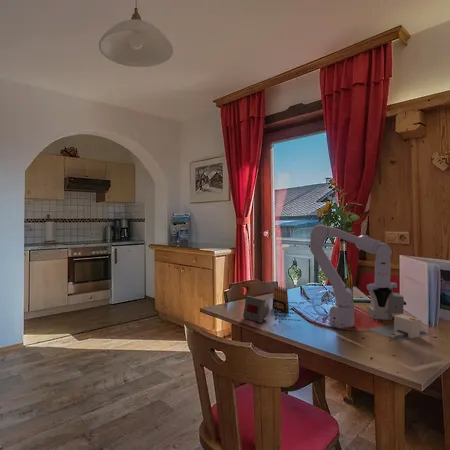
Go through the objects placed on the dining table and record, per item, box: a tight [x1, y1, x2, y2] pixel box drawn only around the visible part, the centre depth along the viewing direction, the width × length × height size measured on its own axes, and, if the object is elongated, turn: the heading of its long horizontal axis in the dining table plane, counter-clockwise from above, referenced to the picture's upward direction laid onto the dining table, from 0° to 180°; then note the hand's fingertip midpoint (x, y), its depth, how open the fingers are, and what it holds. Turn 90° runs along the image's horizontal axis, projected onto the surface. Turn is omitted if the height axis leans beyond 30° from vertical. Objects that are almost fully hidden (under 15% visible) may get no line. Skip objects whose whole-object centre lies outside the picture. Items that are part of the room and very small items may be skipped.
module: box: [393, 314, 421, 339], centre depth 126 cm, size 4×7×7 cm, turn 24°
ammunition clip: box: [271, 284, 290, 315], centre depth 161 cm, size 11×2×12 cm, turn 28°
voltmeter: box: [242, 295, 305, 324], centre depth 145 cm, size 27×11×10 cm, turn 79°
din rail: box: [387, 328, 426, 340], centre depth 126 cm, size 17×3×1 cm, turn 114°
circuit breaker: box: [367, 288, 407, 321], centre depth 148 cm, size 8×14×15 cm, turn 78°
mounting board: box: [367, 324, 432, 342], centre depth 129 cm, size 18×14×1 cm
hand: (381, 306), depth 133 cm, fingers closed
